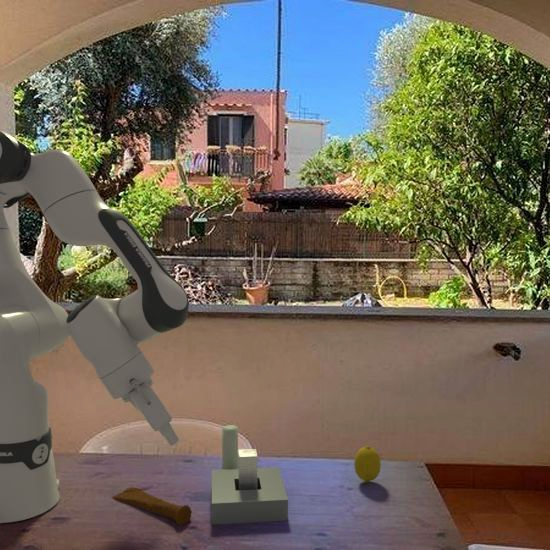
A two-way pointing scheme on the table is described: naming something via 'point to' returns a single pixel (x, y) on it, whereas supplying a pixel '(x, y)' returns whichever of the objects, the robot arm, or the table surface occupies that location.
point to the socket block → (248, 498)
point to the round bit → (230, 447)
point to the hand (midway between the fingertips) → (170, 437)
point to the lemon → (367, 464)
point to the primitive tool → (155, 505)
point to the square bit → (247, 469)
